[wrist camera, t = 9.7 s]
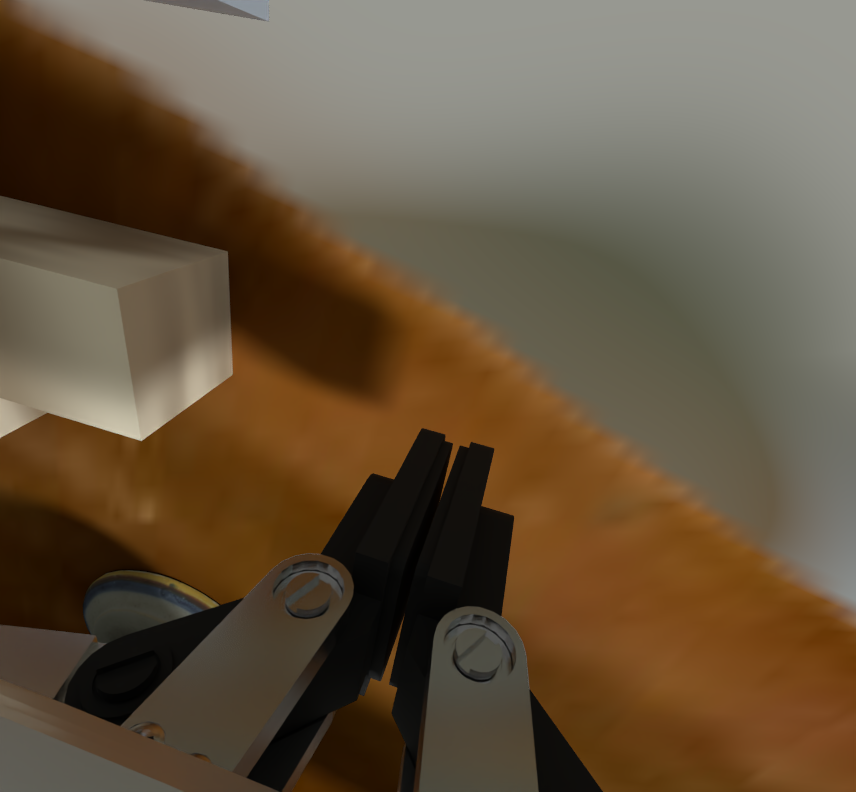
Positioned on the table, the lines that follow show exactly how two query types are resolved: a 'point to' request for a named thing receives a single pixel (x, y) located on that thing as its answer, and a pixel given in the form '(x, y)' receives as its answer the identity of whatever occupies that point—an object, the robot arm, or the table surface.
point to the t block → (106, 321)
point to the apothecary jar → (137, 603)
